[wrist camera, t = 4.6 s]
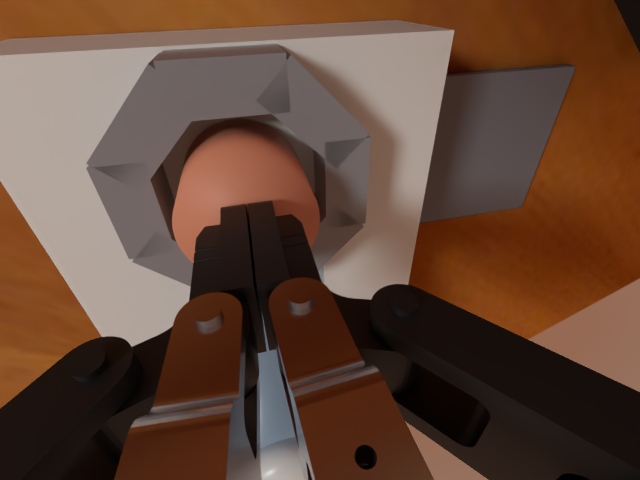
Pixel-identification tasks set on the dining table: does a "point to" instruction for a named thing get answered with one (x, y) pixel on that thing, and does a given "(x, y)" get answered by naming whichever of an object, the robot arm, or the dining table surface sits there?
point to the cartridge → (275, 423)
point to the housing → (195, 117)
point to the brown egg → (240, 179)
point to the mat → (491, 138)
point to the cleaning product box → (631, 17)
